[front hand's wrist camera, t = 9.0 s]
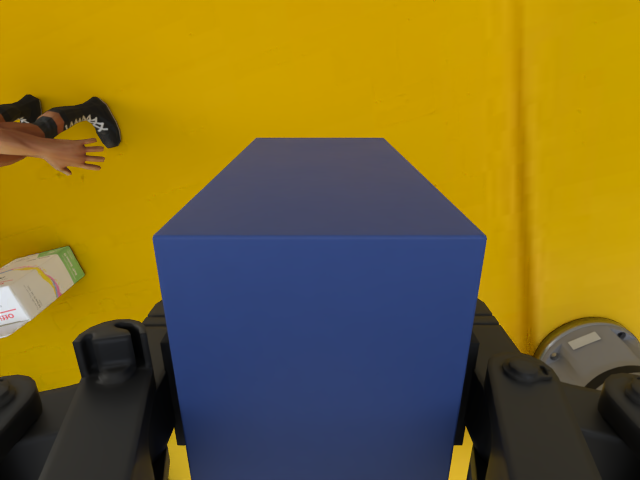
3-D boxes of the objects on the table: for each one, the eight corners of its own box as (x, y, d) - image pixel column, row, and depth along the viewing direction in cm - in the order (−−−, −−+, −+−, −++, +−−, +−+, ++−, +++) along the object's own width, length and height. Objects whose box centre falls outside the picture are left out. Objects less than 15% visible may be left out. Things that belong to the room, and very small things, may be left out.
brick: (384, 137, 15) (489, 236, 6) (373, 322, 18) (431, 588, 9) (255, 137, 15) (150, 235, 6) (265, 322, 18) (207, 588, 9)
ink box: (70, 243, 56) (-12, 298, 42) (86, 275, 57) (13, 337, 44) (12, 258, 57) (-86, 316, 43) (30, 289, 58) (-58, 354, 45)
